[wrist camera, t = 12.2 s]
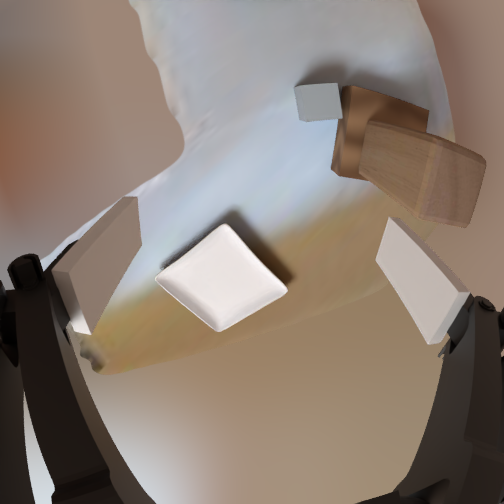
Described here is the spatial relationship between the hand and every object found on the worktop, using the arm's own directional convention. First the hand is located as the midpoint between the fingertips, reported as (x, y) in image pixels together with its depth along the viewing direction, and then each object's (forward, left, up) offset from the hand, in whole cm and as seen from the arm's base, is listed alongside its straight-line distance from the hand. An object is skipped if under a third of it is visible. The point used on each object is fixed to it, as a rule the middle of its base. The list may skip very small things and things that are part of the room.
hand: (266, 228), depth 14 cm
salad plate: (+30, -4, -37) cm, 48 cm away
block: (-2, +23, -32) cm, 39 cm away
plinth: (-4, +23, -37) cm, 43 cm away
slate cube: (-8, +10, -37) cm, 39 cm away
